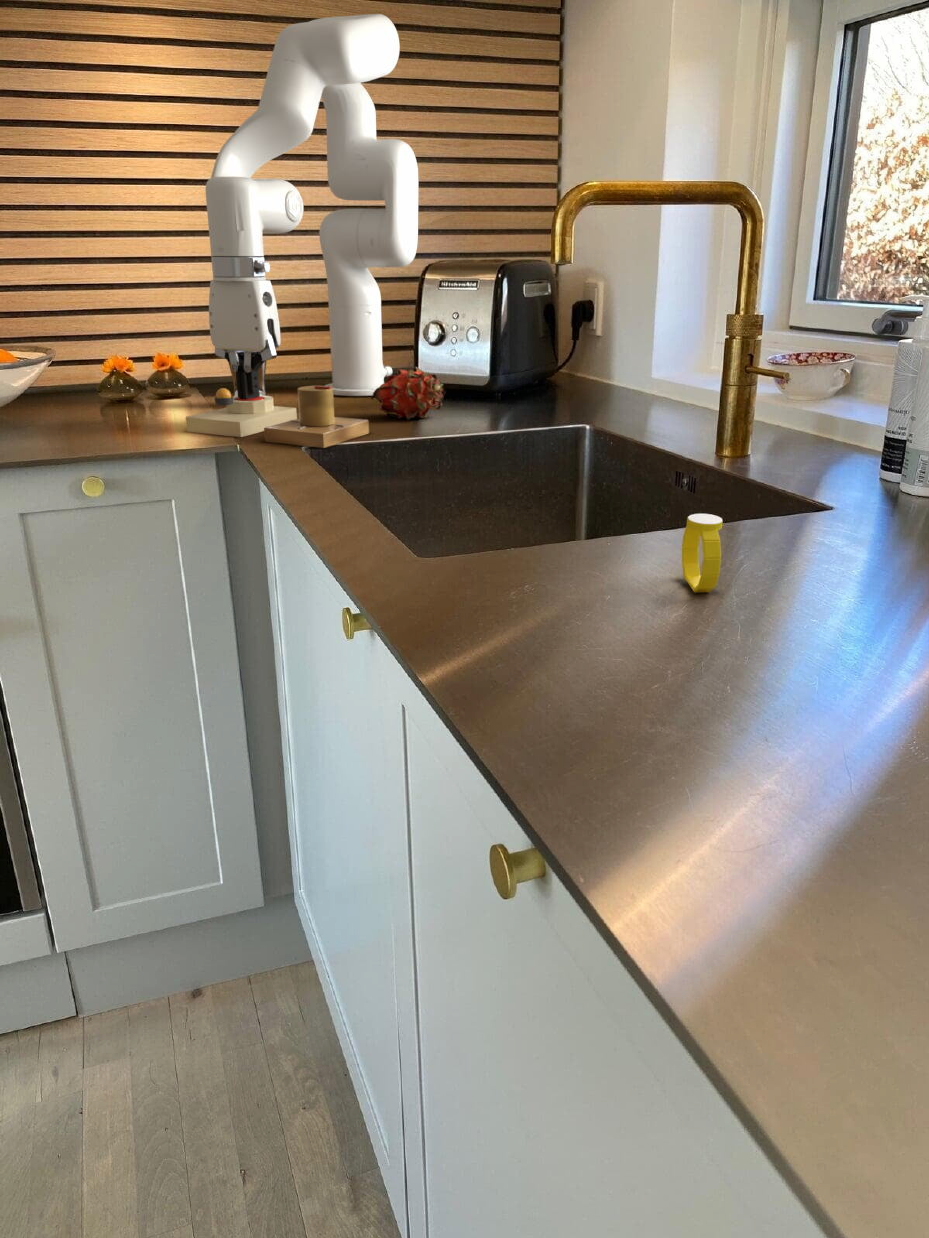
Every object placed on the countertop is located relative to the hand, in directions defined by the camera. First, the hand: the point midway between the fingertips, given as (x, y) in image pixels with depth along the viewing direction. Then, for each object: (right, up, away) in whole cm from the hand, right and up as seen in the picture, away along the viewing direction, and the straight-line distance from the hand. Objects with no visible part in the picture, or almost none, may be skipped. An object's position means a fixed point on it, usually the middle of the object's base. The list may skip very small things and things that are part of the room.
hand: (248, 397), depth 144 cm
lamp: (-3, -2, -5) cm, 6 cm away
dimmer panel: (+12, -8, -8) cm, 16 cm away
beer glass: (-4, +3, +18) cm, 18 cm away
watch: (+52, -32, -66) cm, 90 cm away
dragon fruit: (+24, -2, +8) cm, 25 cm away
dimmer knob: (+12, -6, -8) cm, 16 cm away
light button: (0, -2, +1) cm, 2 cm away
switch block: (-1, -5, 0) cm, 5 cm away
